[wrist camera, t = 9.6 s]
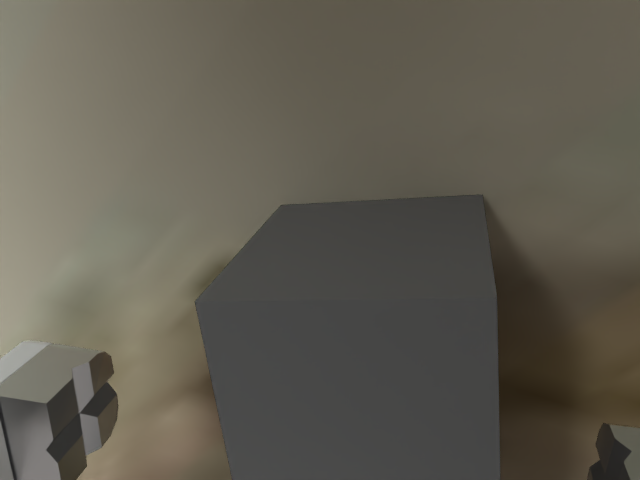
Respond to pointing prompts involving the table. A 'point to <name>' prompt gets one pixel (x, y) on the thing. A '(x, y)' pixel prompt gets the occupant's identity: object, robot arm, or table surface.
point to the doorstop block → (359, 344)
